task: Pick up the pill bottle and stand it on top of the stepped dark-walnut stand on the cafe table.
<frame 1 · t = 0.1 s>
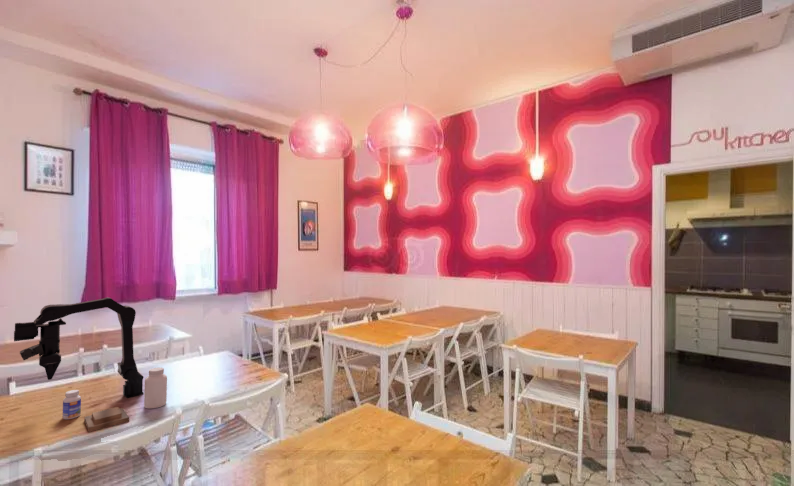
hand: (49, 376, 152), 15 cm above the table, fingers open, 9 cm apart
walnut stand: (106, 421, 146), on the table
pill bottle 2: (155, 405, 161), on the table
pill bottle: (71, 417, 149), on the table
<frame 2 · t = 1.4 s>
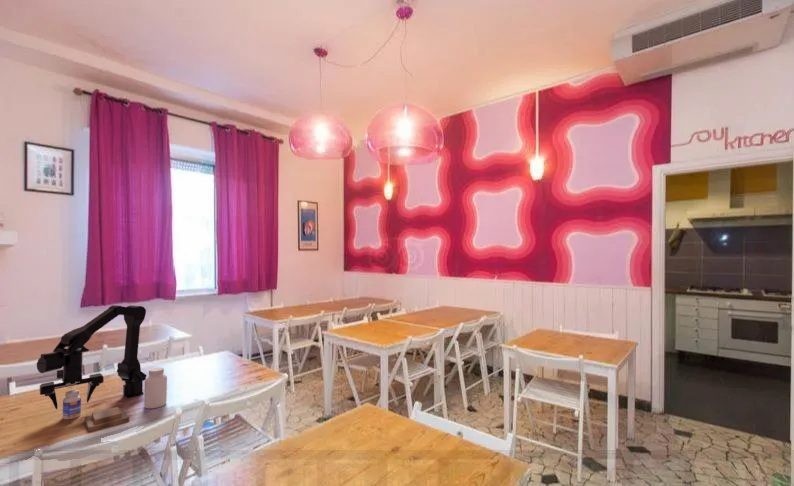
hand: (72, 405, 149), 4 cm above the table, fingers open, 9 cm apart
nothing on the table moved.
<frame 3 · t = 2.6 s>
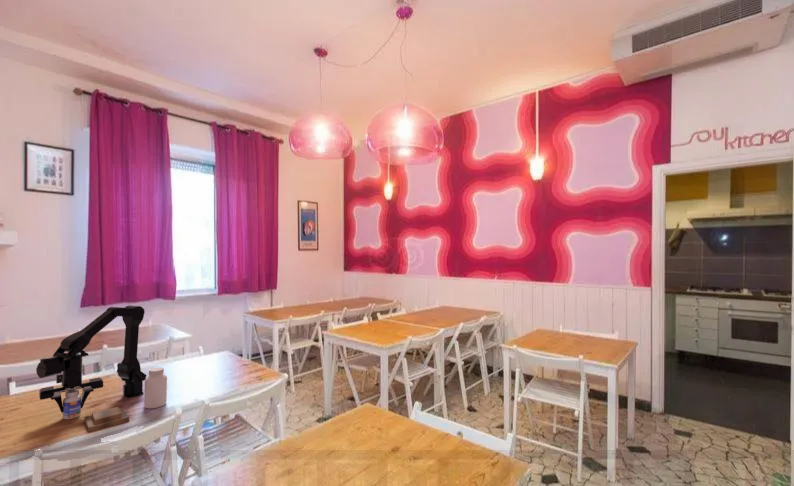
hand: (71, 410, 149), 3 cm above the table, fingers closed on pill bottle, 5 cm apart
pill bottle: (71, 417, 149), on the table, touching gripper
everything else where it was.
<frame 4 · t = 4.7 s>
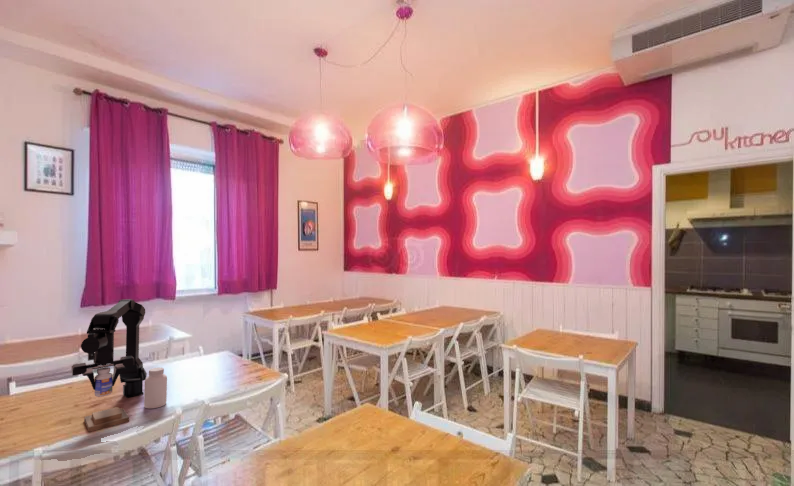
hand: (103, 387, 146), 13 cm above the table, fingers closed on pill bottle, 5 cm apart
pill bottle: (103, 394, 146), point 10 cm above the table, touching gripper
everything else where it was.
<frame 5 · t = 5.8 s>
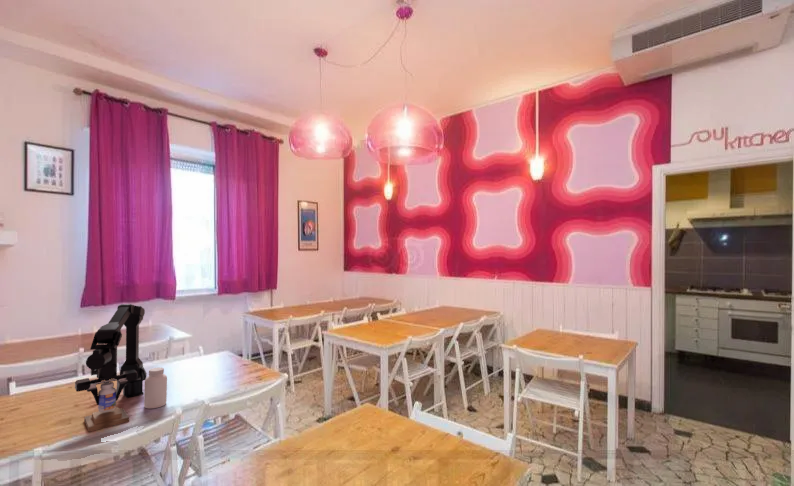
hand: (107, 402, 146), 7 cm above the table, fingers closed on pill bottle, 5 cm apart
pill bottle: (107, 409, 146), point 4 cm above the table, touching gripper
everything else where it was.
when the fingers open (6 cm above the table, at t = 6.7 s): pill bottle stays where it is, resting on walnut stand.
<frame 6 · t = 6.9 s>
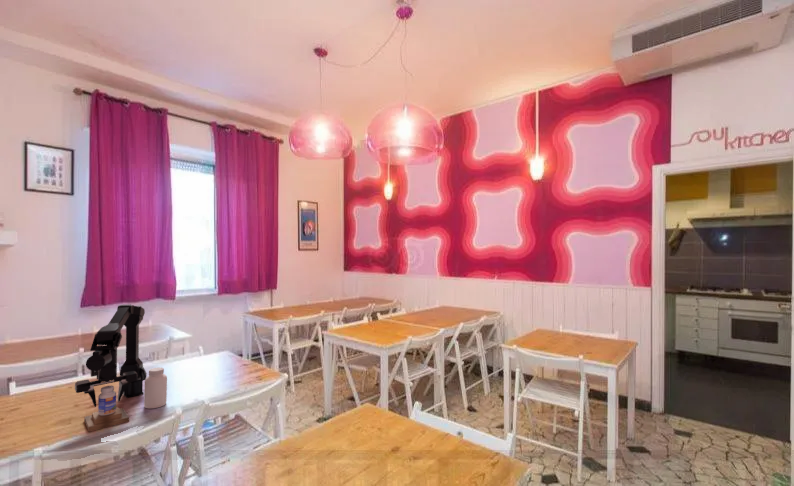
hand: (107, 403, 146), 6 cm above the table, fingers open, 7 cm apart
pill bottle: (107, 413, 146), point 3 cm above the table, touching walnut stand
everything else where it was.
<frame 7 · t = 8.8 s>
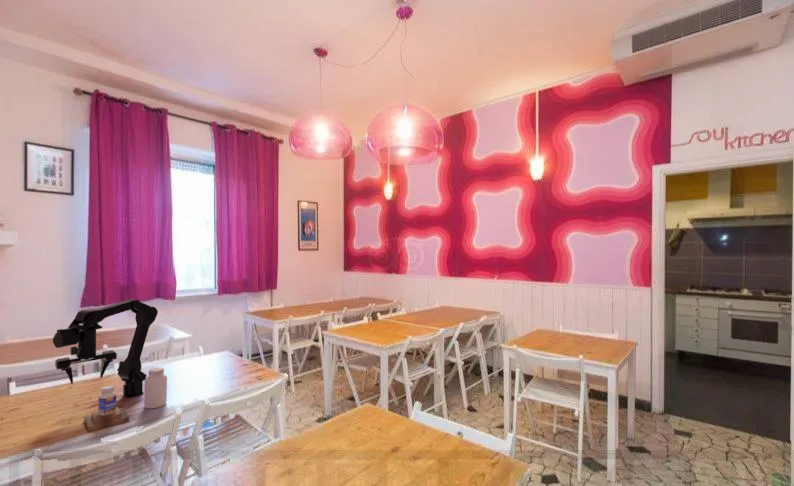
hand: (86, 380, 154), 12 cm above the table, fingers open, 9 cm apart
nothing on the table moved.
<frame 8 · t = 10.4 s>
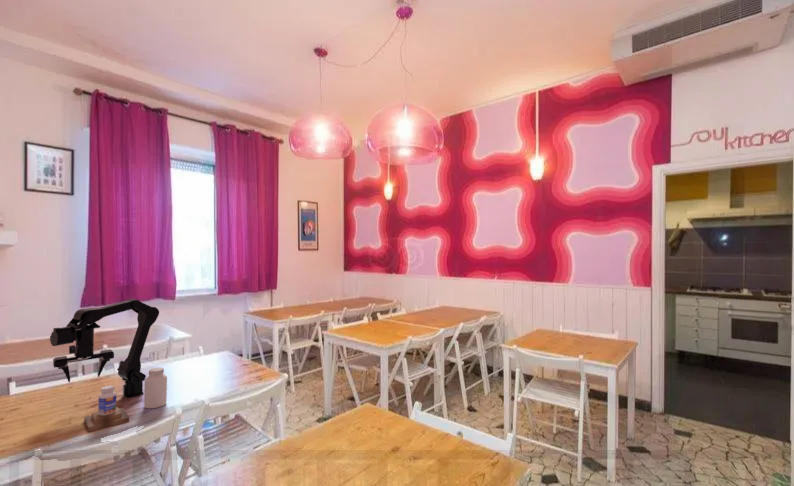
hand: (84, 379, 155), 13 cm above the table, fingers open, 9 cm apart
nothing on the table moved.
at the end: pill bottle inside the target area on the walnut stand (0.1 cm from its centre), point 2.8 cm above the walnut stand's base; pill bottle tilted 0°; the gripper is holding nothing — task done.
